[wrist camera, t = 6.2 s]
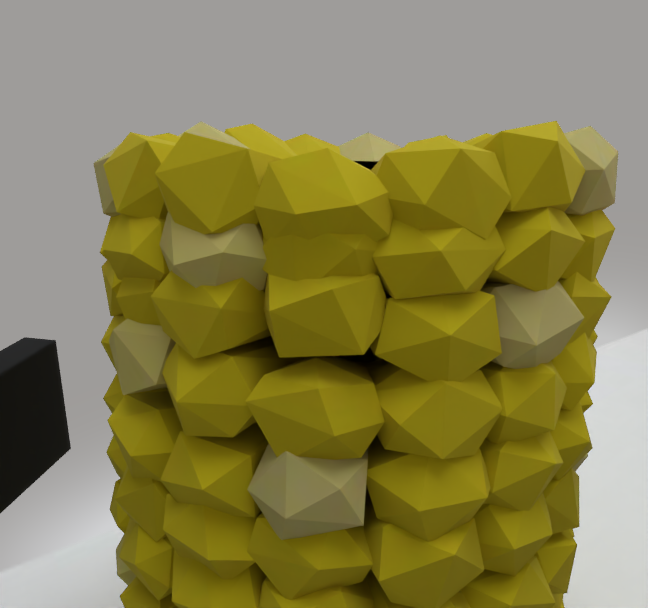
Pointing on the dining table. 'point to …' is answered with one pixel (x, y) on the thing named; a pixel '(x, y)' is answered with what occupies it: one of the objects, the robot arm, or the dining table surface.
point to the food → (351, 365)
